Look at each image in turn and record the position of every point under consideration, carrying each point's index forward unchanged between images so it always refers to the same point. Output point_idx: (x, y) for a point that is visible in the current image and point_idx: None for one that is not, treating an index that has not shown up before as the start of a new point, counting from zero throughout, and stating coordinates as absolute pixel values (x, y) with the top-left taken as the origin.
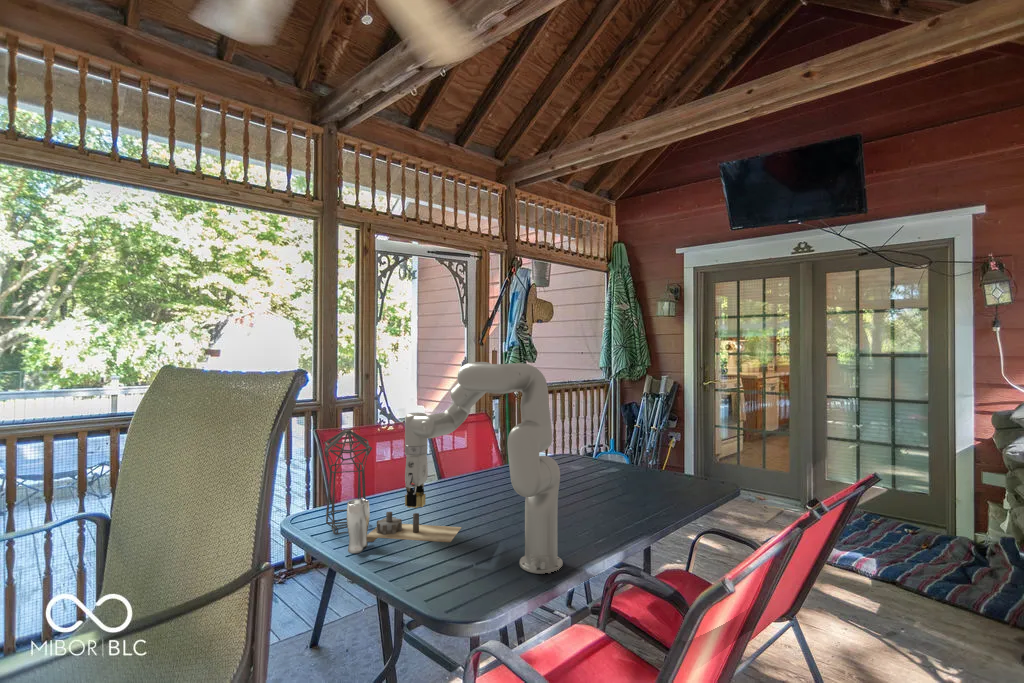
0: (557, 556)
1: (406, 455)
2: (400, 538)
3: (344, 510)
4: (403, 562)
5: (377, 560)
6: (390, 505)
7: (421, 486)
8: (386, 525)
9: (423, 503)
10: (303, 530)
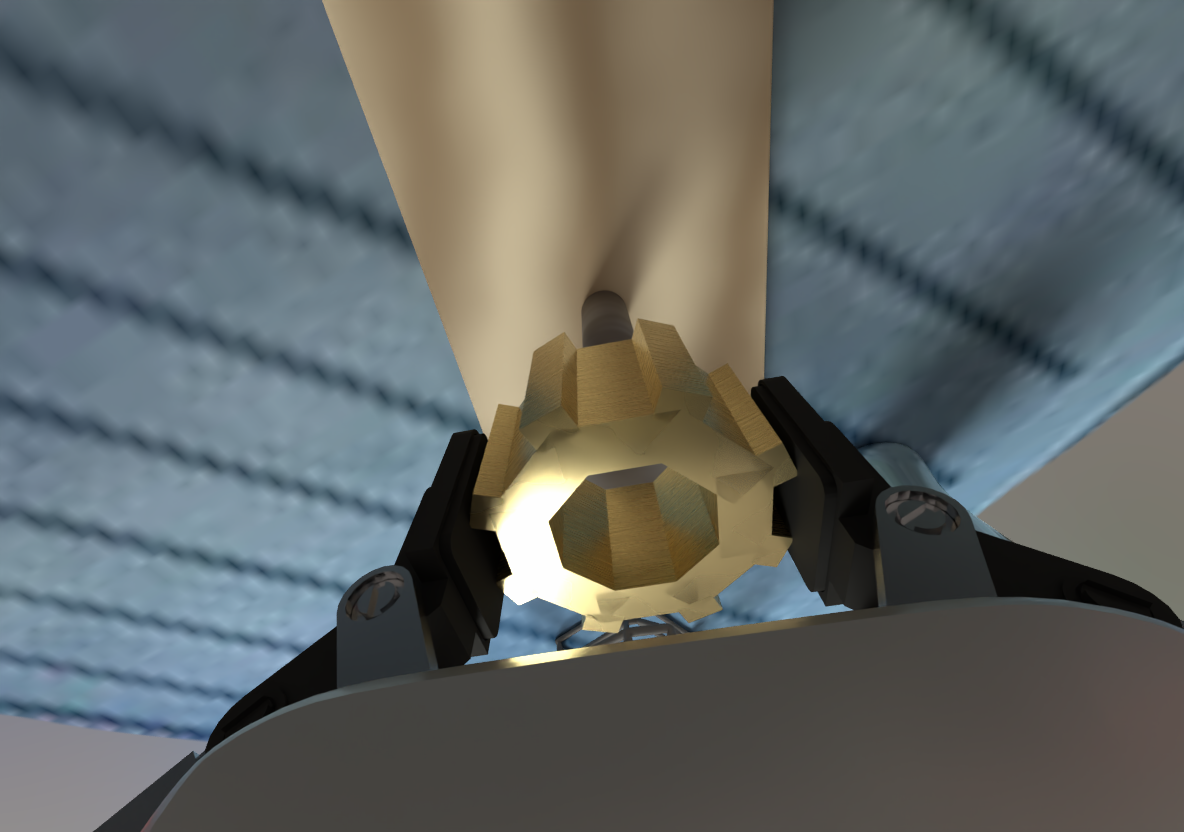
0: None
1: None
2: (754, 347)
3: None
4: (1105, 117)
5: (1033, 315)
6: (248, 653)
7: (426, 609)
8: None
9: (647, 335)
10: None
